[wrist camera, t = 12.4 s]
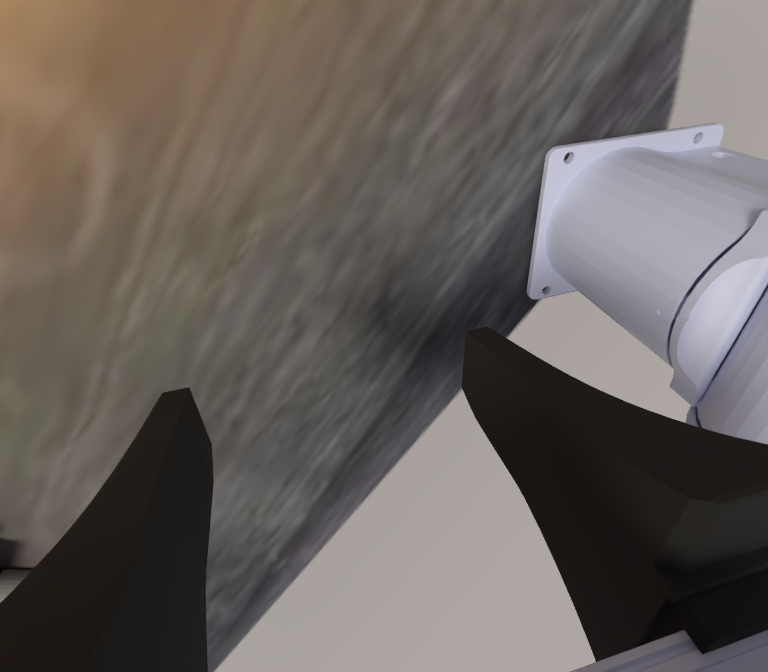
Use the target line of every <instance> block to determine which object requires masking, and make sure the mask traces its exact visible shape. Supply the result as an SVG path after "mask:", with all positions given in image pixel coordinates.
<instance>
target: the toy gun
mask: <svg viewBox="0 0 768 672" xmlns="http://www.w3.org/2000/svg"><path fill="white" fill-rule="evenodd" d="M31 571H32V570H18V569H3V571H2V572H0V603H1V602H2V601H3V600H4V599H5V598H6V597H7V596H8V595H9V594H10V593H11V592H12V591H13V590H14V589H15V588H16V587H17V586H18V585H19V584H20V582H21V581H22V580H23V579H24V578H25V577H26V576H27V575H28V574H29V573H30V572H31Z"/></svg>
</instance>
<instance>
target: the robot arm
mask: <svg viewBox="0 0 768 672" xmlns="http://www.w3.org/2000/svg"><path fill="white" fill-rule="evenodd" d="M723 133H724V127H723V125H722V124H718V123H709V124H702V125H695V126H689V127H682V128H675V129H668V130H662V131H655V132H648V133H642V134H635V135H628V136H621V137H615V138H608V139H601V140H594V141H588V142H581V143H574V144H568V145H561V146H556V147H553V148H552V149H550V150H549V152H548V153H547V155H546V158H545V163H544V171H543V178H542V185H541V192H540V199H539V206H538V213H537V220H536V227H535V235H534V242H533V249H532V256H531V263H530V270H529V277H528V284H527V295H528V296H529V297H530V298H531V299H533V300H536V299H541V298H546V297H550V296H555V295H560V294H564V293H569V292H574V291H579V292H580V293H582V294H583V295H584V296H585V297H586V298H588V299H589V300H590V301H592V302H593V303H594V304H595V305H596V306H598V307H599V308H600V309H601V310H602V311H604V312H605V313H606V314H607V315H609V316H610V317H611V318H612V319H614V320H615V321H616V322H617V323H618V324H620V325H621V326H622V327H623V328H624V329H626V330H627V331H628V332H629V333H631V334H632V335H633V336H634V337H636V338H637V339H638V340H639V341H640V342H642V343H643V344H644V345H645V346H647V347H648V348H649V349H650V350H651V351H653V352H654V353H655V354H657V355H658V356H659V357H660V358H661V359H663V360H664V361H665V362H666V363H668V364H669V365H670V366H671V367H673V368H674V375H673V379H672V381H671V384H670V387H671V388H672V389H673V390H674V391H675V392H676V393H678V394H679V395H680V396H681V397H682V398H683V399H685V400H686V401H687V402H688V403H689V404H690V405H691V407H690V409H689V411H688V413H687V418H686V423H684V422H681V421H677V420H674V419H671V418H668V417H665V416H663V415H660V414H657V413H654V412H651V411H648V410H646V409H643V408H640V407H638V406H635V405H633V404H630V403H628V402H625V401H623V400H620V399H618V398H616V397H614V396H611V395H609V394H607V393H605V392H602V391H600V390H598V389H596V388H594V387H591V386H589V385H588V384H586V383H584V382H582V381H580V380H578V379H576V378H574V377H572V376H570V375H568V374H566V373H564V372H563V371H561V370H559V369H557V368H555V367H553V366H552V365H550V364H548V363H546V362H545V361H543V360H541V359H539V358H538V357H536V356H535V355H533V354H531V353H530V352H528V351H526V350H525V349H523V348H521V347H519V346H518V345H516V344H515V343H513V342H512V341H510V340H508V339H507V338H505V337H503V336H502V335H500V334H498V333H497V332H495V331H493V330H491V329H490V328H488V327H484V328H479V329H474V330H469V331H466V338H465V351H464V365H463V379H462V389H463V391H464V393H465V396H466V398H467V400H468V403H469V405H470V407H471V409H472V411H473V413H474V416H475V418H476V419H477V421H478V423H479V424H480V426H481V428H482V429H483V431H484V432H485V434H486V436H487V437H488V439H489V441H490V442H491V444H492V446H493V447H494V449H495V450H496V452H497V453H498V455H499V457H500V458H501V460H502V461H503V463H504V465H505V466H506V468H507V469H508V471H509V473H510V474H511V475H512V477H513V479H514V480H515V482H516V484H517V485H518V487H519V489H520V491H521V493H522V494H523V496H524V498H525V500H526V502H527V504H528V506H529V508H530V510H531V512H532V514H533V516H534V518H535V520H536V522H537V524H538V526H539V528H540V530H541V532H542V534H543V537H544V539H545V541H546V543H547V545H548V548H549V550H550V552H551V554H552V556H553V558H554V560H555V562H556V565H557V567H558V569H559V572H560V574H561V576H562V579H563V581H564V583H565V586H566V588H567V590H568V593H569V595H570V597H571V600H572V602H573V604H574V607H575V609H576V611H577V614H578V617H579V619H580V622H581V624H582V627H583V629H584V631H585V634H586V636H587V639H588V642H589V644H590V647H591V649H592V652H593V655H594V657H595V660H596V662H595V663H593V664H590V665H587V666H585V667H582V668H579V669H576V670H573V671H571V672H768V161H766V160H763V159H760V158H756V157H753V156H750V155H746V154H743V153H739V152H735V151H732V150H729V149H725V148H722V147H719V145H720V142H721V139H722V137H723ZM696 134H697V135H696ZM695 135H696V137H695ZM694 137H695V139H694ZM567 153H569V157H568V159H567V160H566V161H564V157H565V155H566V154H567ZM546 286H547V287H546ZM545 287H546V289H545V290H543V289H544V288H545ZM542 290H543V291H542ZM212 494H213V460H212V444H211V441H210V439H209V436H208V434H207V431H206V429H205V426H204V424H203V421H202V419H201V416H200V414H199V411H198V409H197V406H196V404H195V401H194V398H193V396H192V393H191V391H190V388H184V389H179V390H174V391H169V392H164V393H162V395H161V396H160V397H159V399H158V401H157V402H156V404H155V406H154V407H153V409H152V411H151V412H150V414H149V416H148V417H147V419H146V421H145V422H144V424H143V426H142V427H141V429H140V431H139V432H138V434H137V435H136V437H135V439H134V440H133V442H132V443H131V445H130V446H129V448H128V450H127V451H126V453H125V454H124V456H123V457H122V459H121V460H120V462H119V463H118V465H117V466H116V468H115V469H114V471H113V472H112V474H111V475H110V476H109V478H108V479H107V481H106V482H105V483H104V485H103V486H102V487H101V489H100V490H99V492H98V493H97V494H96V496H95V497H94V499H93V500H92V501H91V503H90V504H89V505H88V506H87V508H86V509H85V510H84V512H83V513H82V514H81V515H80V517H79V518H78V519H77V520H76V522H75V523H74V524H73V525H72V527H71V528H70V529H69V530H68V531H67V532H66V534H65V535H64V536H63V537H62V538H61V540H60V541H59V542H58V543H57V544H56V545H55V546H54V548H53V549H52V550H51V551H50V552H49V553H48V554H47V555H46V556H45V557H44V558H43V559H42V560H41V561H40V562H39V564H38V565H37V566H36V567H35V568H34V569H33V570H32V571H31V572H30V573H29V574H28V575H27V576H26V577H25V578H24V579H23V580H22V581H21V582H20V584H19V585H18V586H17V587H16V588H15V589H14V590H13V591H12V592H11V593H10V594H9V595H8V596H7V597H6V598H5V599H4V600H3V601H2V602H1V603H0V672H208V666H207V637H206V566H207V554H208V543H209V531H210V519H211V507H212Z"/></svg>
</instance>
